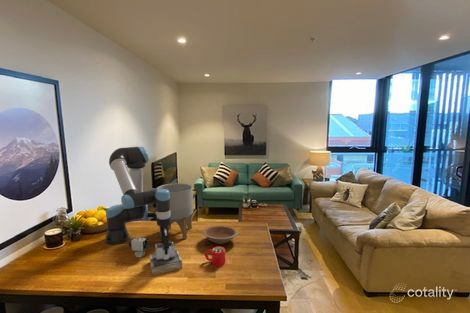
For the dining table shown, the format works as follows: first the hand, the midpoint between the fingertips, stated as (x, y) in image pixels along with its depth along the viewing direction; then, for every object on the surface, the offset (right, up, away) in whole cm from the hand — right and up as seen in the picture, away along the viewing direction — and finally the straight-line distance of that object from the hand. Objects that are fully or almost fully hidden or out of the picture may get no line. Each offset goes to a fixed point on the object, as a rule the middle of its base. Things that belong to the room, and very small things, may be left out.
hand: (165, 256), depth 148 cm
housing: (0, 0, 0) cm, 0 cm away
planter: (-3, 0, +42) cm, 42 cm away
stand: (0, -6, +1) cm, 6 cm away
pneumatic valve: (-18, -4, +11) cm, 22 cm away
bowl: (+30, -1, +29) cm, 42 cm away
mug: (+28, -5, +4) cm, 29 cm away
